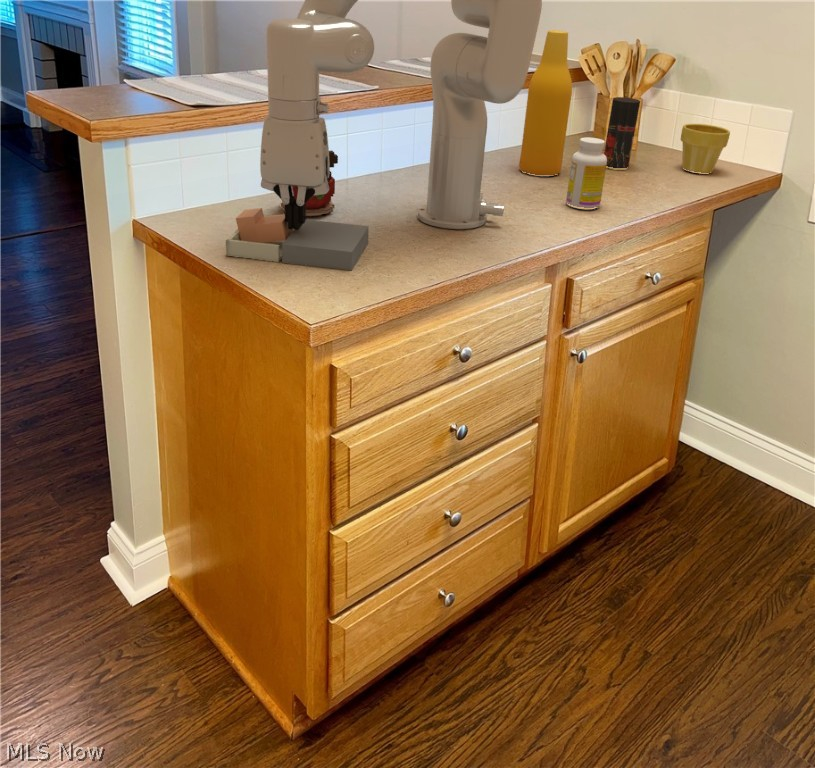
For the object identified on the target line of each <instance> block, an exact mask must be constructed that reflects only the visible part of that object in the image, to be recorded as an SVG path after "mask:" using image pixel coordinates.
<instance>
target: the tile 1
mask: <svg viewBox="0 0 815 768" xmlns="http://www.w3.org/2000/svg"><path fill="white" fill-rule="evenodd" d="M263 216H265V214H264V212H263V208H261V207H259V208H250V209H249V208H248V209H244V210H243V211H242V212H241V213H239V214H238V216H236V217H235V223H236V224H237V229H238V230H239V234H240V238H241V241H248V242H257V243H259V242H258V238H257V233H256V229H255V224H256V223H257V222H258V221H259V220H260V219H261V218H262V217H263Z"/></svg>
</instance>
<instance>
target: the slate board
mask: <svg viewBox="0 0 815 768" xmlns="http://www.w3.org/2000/svg"><path fill="white" fill-rule="evenodd" d="M369 229H370V226H369V225H361V224H360V225H359V224H351V223H350V224H349V223H342V222H334V221H324V220H323V221H322V220H316V219H315V220H314V219H306V221H305V223H304V224H302V226H301V227H300V229H299V230H294V231H293V232H292V233H291V235H290V236H289V237H288V238H287V239H286V240H285V241H284V243H283V244H282V259H281V261H282V262H281V263H284V264H293V265H298V266H299V265H301V266H307V267H309V266H310V267H317V268H326V269H334V270H343V271H344V270H345V271H350V272H351V271H352V270H354V267H355V266H356V264H357V262H358V261H359V259H360V257H362V254H363V253H364V251H365V249H366V248H367V246H368V244H369V231H370V230H369Z"/></svg>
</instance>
